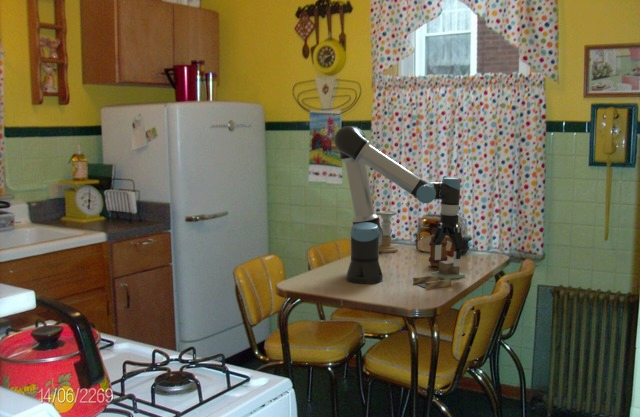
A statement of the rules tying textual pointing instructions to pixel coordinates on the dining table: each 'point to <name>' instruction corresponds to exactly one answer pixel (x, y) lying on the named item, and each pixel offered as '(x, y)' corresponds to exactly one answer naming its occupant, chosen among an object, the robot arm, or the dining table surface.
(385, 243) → the candle holder
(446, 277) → the plate
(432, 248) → the mug
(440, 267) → the block
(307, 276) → the dining table surface
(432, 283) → the channel
